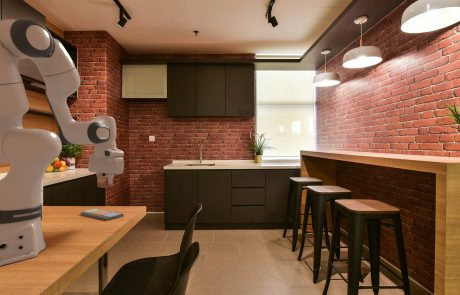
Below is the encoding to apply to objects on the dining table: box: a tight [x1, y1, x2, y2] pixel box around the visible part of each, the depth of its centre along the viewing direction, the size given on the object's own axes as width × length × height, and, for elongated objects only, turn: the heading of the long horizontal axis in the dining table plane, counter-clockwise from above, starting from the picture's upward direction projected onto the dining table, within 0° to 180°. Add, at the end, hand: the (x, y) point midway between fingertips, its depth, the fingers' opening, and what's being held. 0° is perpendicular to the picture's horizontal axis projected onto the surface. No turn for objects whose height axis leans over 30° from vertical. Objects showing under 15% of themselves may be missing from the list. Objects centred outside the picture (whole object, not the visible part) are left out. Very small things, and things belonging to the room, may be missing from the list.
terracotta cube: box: [96, 175, 114, 189], centre depth 115 cm, size 4×4×4 cm
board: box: [80, 208, 124, 222], centre depth 126 cm, size 9×20×2 cm, turn 62°
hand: (105, 183), depth 115 cm, fingers closed on terracotta cube, 4 cm apart
